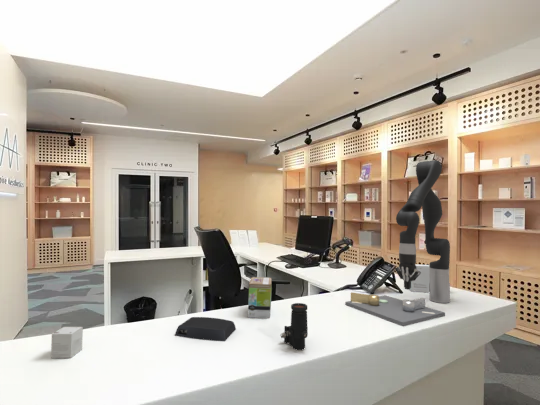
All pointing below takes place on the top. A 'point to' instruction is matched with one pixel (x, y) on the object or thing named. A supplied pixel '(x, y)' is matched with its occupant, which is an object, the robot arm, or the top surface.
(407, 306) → the chrome lever handle
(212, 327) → the external hard drive
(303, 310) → the scope
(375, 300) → the brass door handle
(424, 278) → the skincare box
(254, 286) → the tea box
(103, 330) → the top surface
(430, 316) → the board
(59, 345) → the skincare box
